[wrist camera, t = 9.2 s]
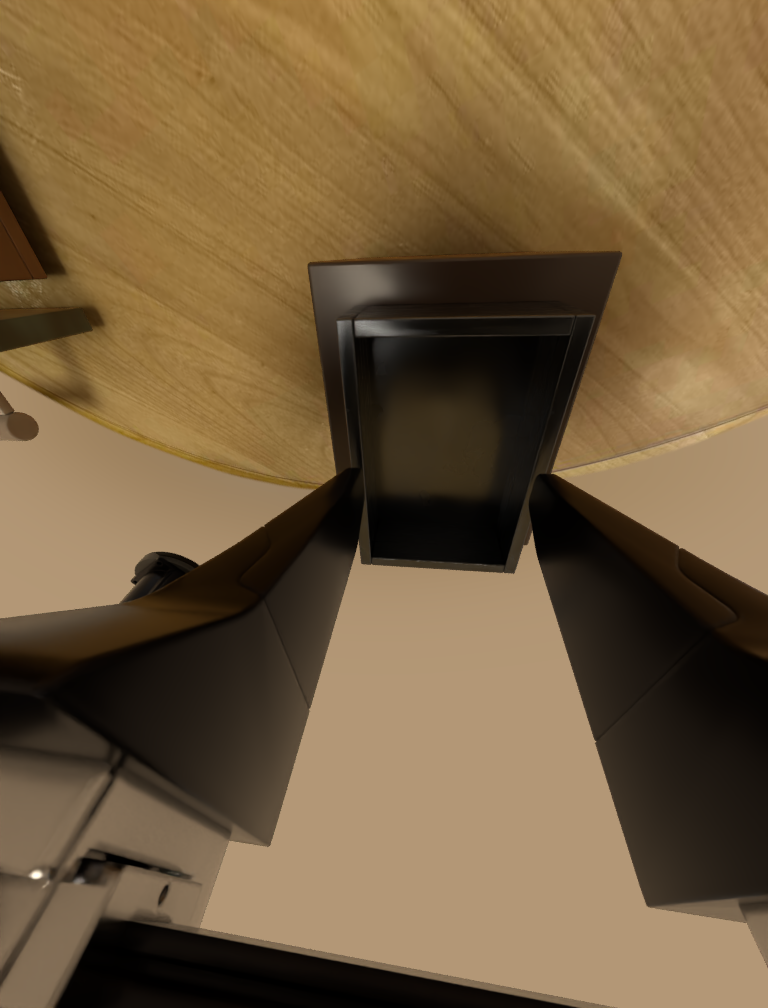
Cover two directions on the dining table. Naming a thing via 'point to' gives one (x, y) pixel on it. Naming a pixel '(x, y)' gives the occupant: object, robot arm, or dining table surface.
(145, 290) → the dining table surface
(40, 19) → the dining table surface
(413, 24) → the dining table surface
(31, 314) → the drawer
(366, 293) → the stand
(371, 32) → the dining table surface
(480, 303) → the tray
